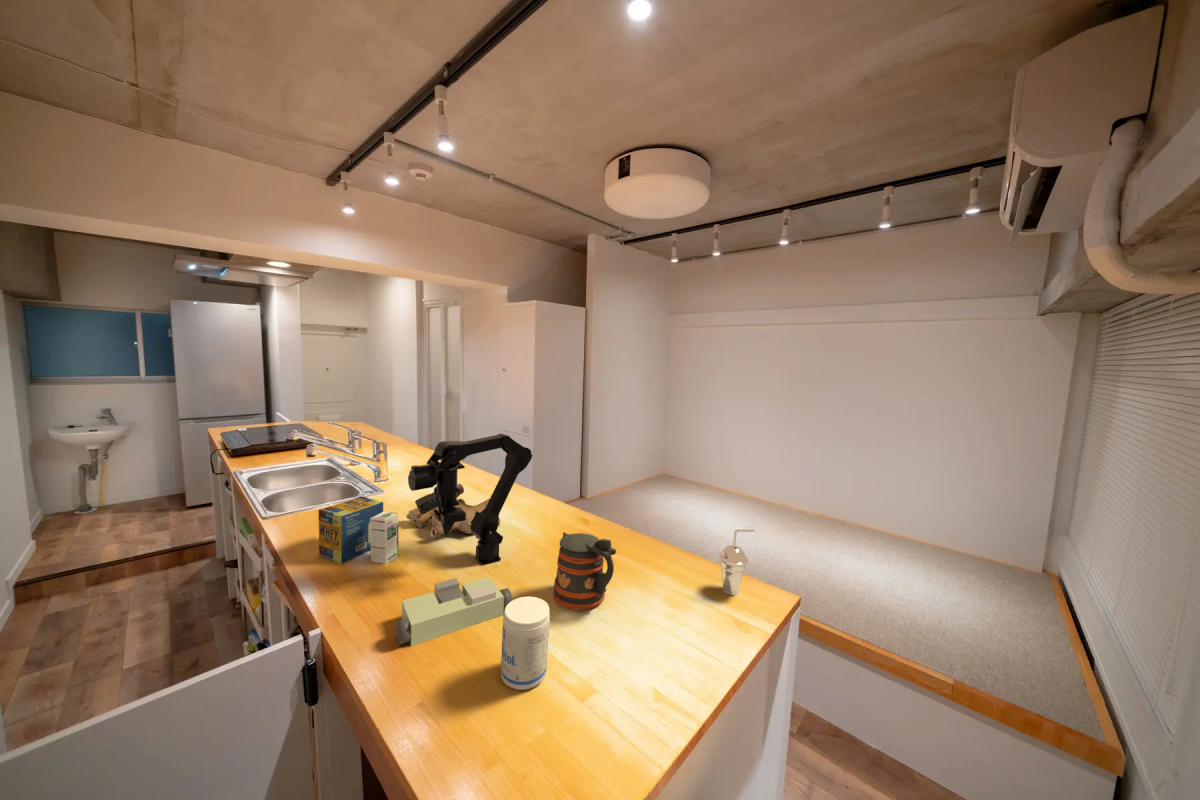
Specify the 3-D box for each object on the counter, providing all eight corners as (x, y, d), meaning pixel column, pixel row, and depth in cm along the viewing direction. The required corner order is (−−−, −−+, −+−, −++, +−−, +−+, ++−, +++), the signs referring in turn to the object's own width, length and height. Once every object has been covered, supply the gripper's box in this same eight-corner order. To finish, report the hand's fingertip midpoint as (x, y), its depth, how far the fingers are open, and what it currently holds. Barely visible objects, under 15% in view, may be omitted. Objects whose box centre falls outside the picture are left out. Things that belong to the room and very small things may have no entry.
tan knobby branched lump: (455, 476, 173) (397, 497, 153) (504, 499, 156) (447, 527, 136) (456, 503, 176) (399, 528, 156) (505, 529, 159) (448, 560, 139)
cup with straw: (724, 580, 128) (729, 518, 126) (752, 592, 122) (758, 528, 120) (710, 589, 122) (715, 525, 120) (738, 603, 116) (744, 535, 114)
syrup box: (386, 564, 127) (386, 519, 125) (370, 561, 128) (369, 517, 126) (399, 556, 132) (399, 512, 131) (383, 553, 133) (383, 510, 132)
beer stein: (627, 601, 114) (632, 532, 112) (595, 626, 102) (600, 550, 100) (576, 576, 125) (579, 514, 123) (542, 597, 114) (545, 528, 112)
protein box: (318, 557, 129) (317, 509, 127) (362, 538, 143) (362, 495, 142) (340, 564, 125) (340, 516, 124) (384, 544, 139) (384, 500, 138)
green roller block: (496, 591, 115) (496, 569, 115) (512, 611, 106) (512, 588, 106) (391, 622, 100) (391, 597, 99) (399, 649, 91) (399, 622, 90)
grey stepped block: (455, 599, 111) (456, 578, 110) (464, 615, 104) (465, 592, 104) (434, 605, 107) (434, 583, 107) (442, 622, 101) (442, 599, 100)
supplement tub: (491, 674, 85) (493, 608, 84) (526, 651, 93) (529, 590, 91) (520, 701, 79) (523, 630, 78) (556, 674, 86) (559, 608, 85)
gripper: (411, 479, 124) (410, 528, 125) (425, 498, 109) (424, 554, 110) (448, 475, 130) (448, 522, 132) (467, 492, 115) (466, 544, 117)
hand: (446, 534), depth 122 cm, fingers closed
